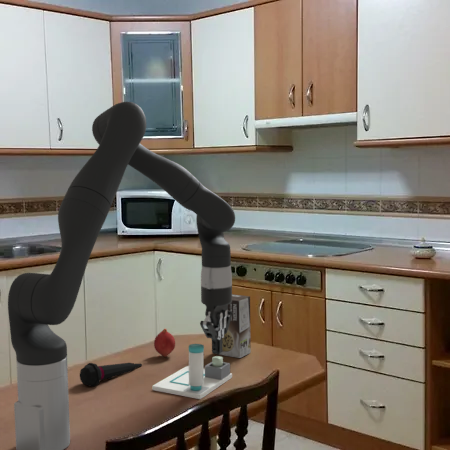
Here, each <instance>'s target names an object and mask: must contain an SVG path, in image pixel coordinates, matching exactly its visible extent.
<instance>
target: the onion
mask: <svg viewBox="0 0 450 450" xmlns="http://www.w3.org/2000/svg"><path fill="white" fill-rule="evenodd" d="M175 339H176V338H175V337H174V336H173V334H172V333H170V332H169V331H168V329H167V328H165V327H164V328H163V330H162V331H160V332H159V333H158V334H157V335H156V336H155V338H154V340H153V341H154V342H153V347H154V350H155V351H156V352H157V353H158V354H160V355H161V356H162V357H164V358H166V357H168V356H169V355H170V354H171V353H172V352H173V351H174V350H175V348H176V340H175Z"/></svg>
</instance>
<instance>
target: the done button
mask: <svg viewBox="0 0 450 450" xmlns="http://www.w3.org/2000/svg"><path fill="white" fill-rule="evenodd" d="M223 359H224V357H223V356H221V355H216V356H212V358H211V362H212V366H214V367H222V366H223V362H224V360H223Z"/></svg>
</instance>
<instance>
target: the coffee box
mask: <svg viewBox="0 0 450 450" xmlns="http://www.w3.org/2000/svg"><path fill="white" fill-rule="evenodd" d="M227 306H228V311H232V312H233V314H232V317H231V321H230V324H229V327H228V331H227V333H224V337H223V338H222V346H223V351H222V353H220V354H218V356H225V357H231V358H238V359H241V358H243V357H245V356H247V355H249V354H251V352H252V351H251V350H252V349H251V347H252V346H251V339H252V338H251V295H250V296H249V295H240V294H234V293H232V302H231V303H230V304H228V305H227Z"/></svg>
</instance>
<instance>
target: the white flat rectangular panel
mask: <svg viewBox="0 0 450 450" xmlns="http://www.w3.org/2000/svg"><path fill="white" fill-rule="evenodd" d="M232 378H233V373H232V372H230V375H228V376H227V377H225V378H224V379H222V380H218V379H213V378H207V377H205V368H203V385H202V389H201V390H199V391H193V390H191V389H190V385H189V365H186V366H184V367H183V368H181V369H179V370H177V371H175V372H174V373H172V374H171V375H169V376H167V377H165V378H164V379H161V380H160V381H158V382H156V383H155V384H153V385H152V386H151V387H152V388H151V389H152V391H156V392H160V393H167V394H172V395H177V396H183V397H186V398H193V399H197V400H201V399H203V398H204V397H206V396H207V395H209V394H210V393H211V392H213V391H215V390H216V389H217V388H220V387H221V385H224V383H227V382H228V381H229V380H231V379H232Z"/></svg>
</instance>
